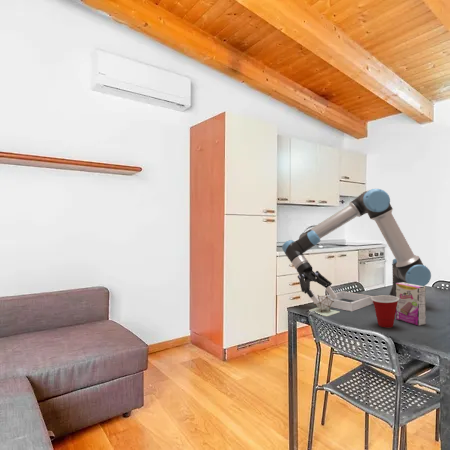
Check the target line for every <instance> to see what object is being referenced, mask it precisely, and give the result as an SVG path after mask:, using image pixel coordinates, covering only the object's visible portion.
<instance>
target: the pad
mask: <svg viewBox="0 0 450 450" xmlns="http://www.w3.org/2000/svg"><path fill="white" fill-rule="evenodd" d="M308 310H309V311H315V312H316V313H318V314H320V315H319V316H321V315H322V317H331V316H333V315H336V314H339V313H341V312H340V311H339V310H334V309H331V308H330V311H329V310H324V311H322V312H321V310H320V309H319V308H318V307H317V306H316V307H314V308H311V309H308Z"/></svg>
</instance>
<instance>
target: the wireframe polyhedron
mask: <svg viewBox="0 0 450 450" xmlns="http://www.w3.org/2000/svg"><path fill="white" fill-rule="evenodd" d="M326 295H328V293H326V294H325V295H319V294H317V298H318V300H319V301H318V302H317V303H316V304H315V303H313V306H316V308H317V307H318V308H319V309H320V310H321V312H322V311H324V310H329V311H330V309H331V308H332V307H331V305H332V302H334V301H332V300H330V299H329V298H328V296H326Z"/></svg>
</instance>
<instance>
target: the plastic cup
mask: <svg viewBox="0 0 450 450" xmlns="http://www.w3.org/2000/svg"><path fill="white" fill-rule="evenodd" d="M371 300H372V301H373V307H374V311H375V315H376V316H375V317H376V320H377V324H378V327H381V328H389V329H390V328H393V327H394V325H395V324H394V323H395V320H396V307H397V303H398V301H399V298H398V297H395V296H389V294H388V295H387V294H386V295H375V296H374V295H373V297H372V298H371Z"/></svg>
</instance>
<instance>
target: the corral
mask: <svg viewBox="0 0 450 450" xmlns="http://www.w3.org/2000/svg"><path fill="white" fill-rule="evenodd" d="M335 294H336V295H337V297H336V298H335V299H334V300H333V299H332V297H331V296H330V295H329V294H327V295H326V294H325V295H326V296H328V298H329V299H330V300H332V301H334V302H332V305H331V307H330V308H332V309H333V308H334V309H339V310H344V311H347V312H354V311H357V310H359V309H362V308H365V307H368V306H371V305H374V303H373V301H372V300H371V298H372V297H374V295H369V294H368V295H367V294H362V293H356V292H351V291H345V290H341V291H337V292H335ZM343 299H344V300H343ZM345 300H350V301H351V302H349V301H345Z"/></svg>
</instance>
